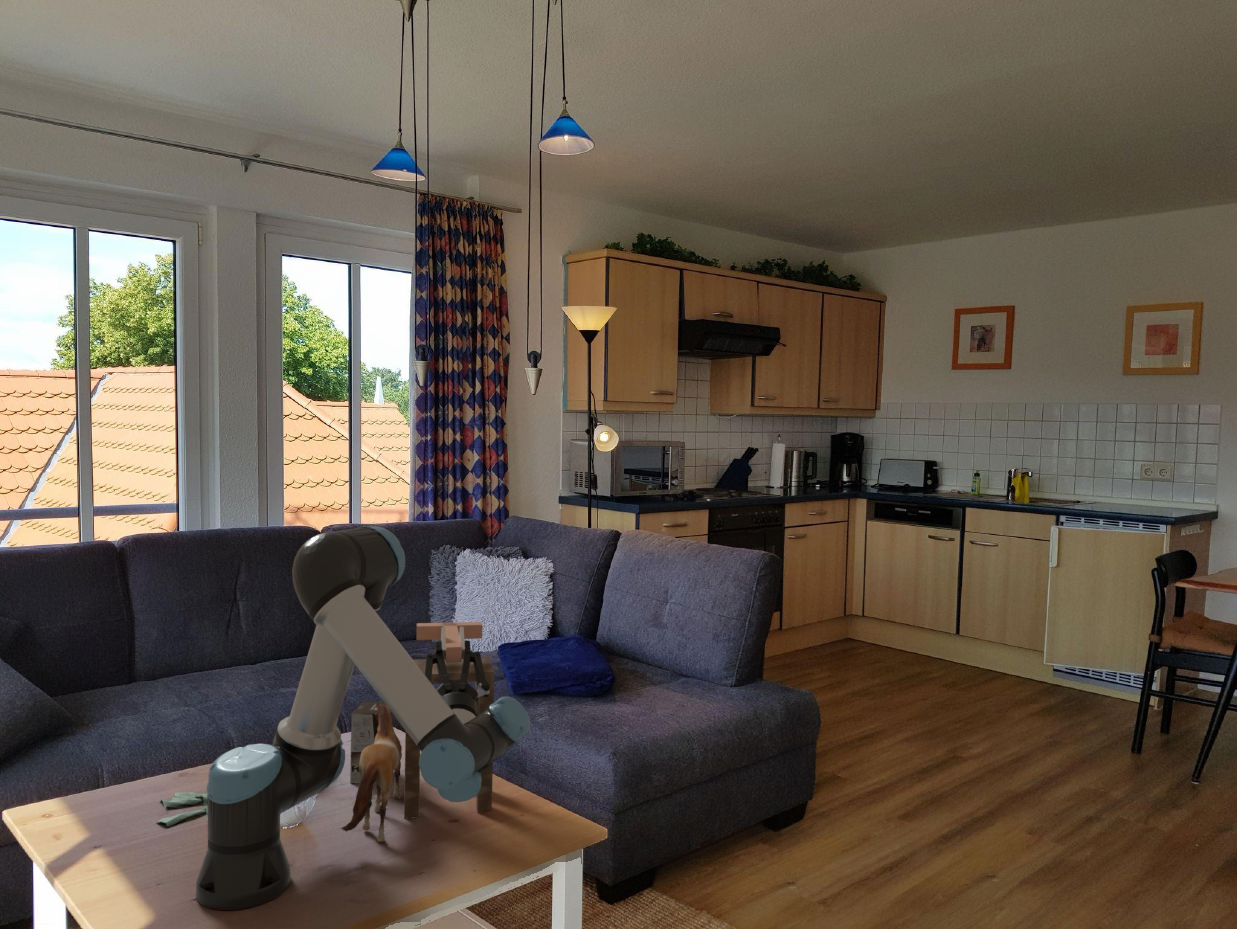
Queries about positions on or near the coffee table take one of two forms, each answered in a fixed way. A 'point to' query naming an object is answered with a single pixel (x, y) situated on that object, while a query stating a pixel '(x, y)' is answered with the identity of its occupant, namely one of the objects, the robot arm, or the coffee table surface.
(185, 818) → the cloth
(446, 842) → the coffee table surface
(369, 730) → the coffee box
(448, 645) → the terracotta T
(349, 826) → the horse figurine
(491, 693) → the walnut table
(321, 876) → the coffee table surface
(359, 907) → the coffee table surface
